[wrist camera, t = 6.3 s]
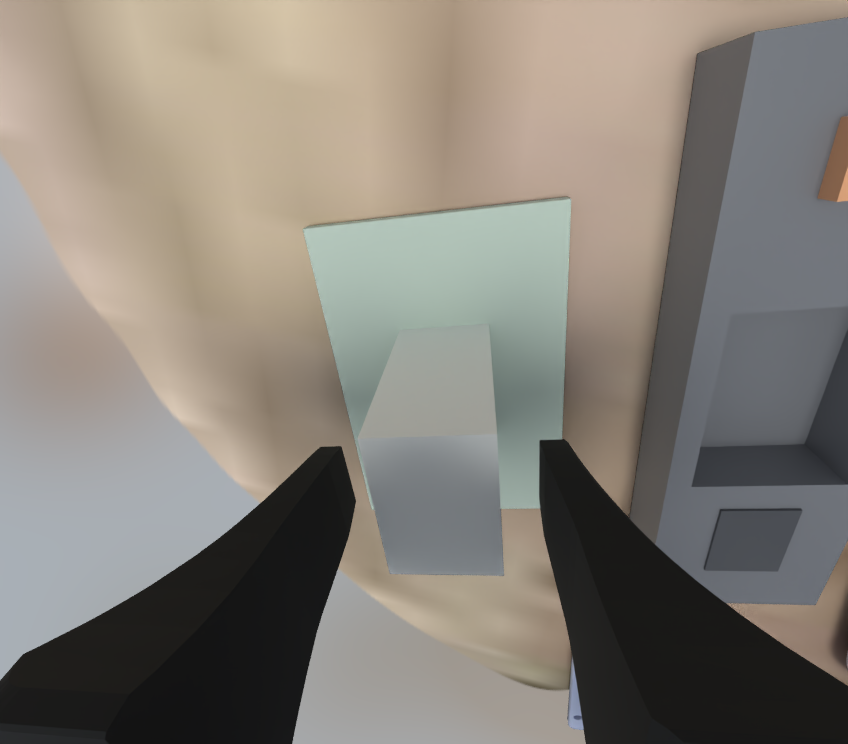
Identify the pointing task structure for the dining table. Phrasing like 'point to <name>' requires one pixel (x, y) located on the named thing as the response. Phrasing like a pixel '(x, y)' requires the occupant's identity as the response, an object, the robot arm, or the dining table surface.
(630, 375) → the dining table surface
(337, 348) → the rubber mat
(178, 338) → the dining table surface
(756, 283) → the grey slotted plate
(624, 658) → the robot arm
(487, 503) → the white rectangular block
